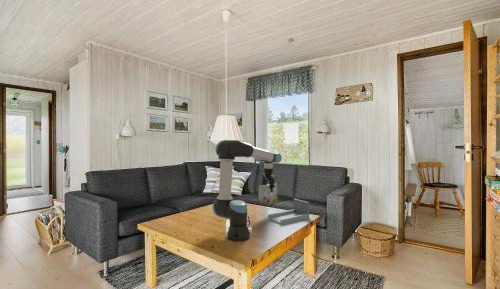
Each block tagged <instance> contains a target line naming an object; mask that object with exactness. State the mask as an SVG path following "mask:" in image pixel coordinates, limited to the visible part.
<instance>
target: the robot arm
mask: <svg viewBox="0 0 500 289" xmlns="http://www.w3.org/2000/svg"><path fill="white" fill-rule="evenodd" d="M215 153H216V155H217V157H218V161H219V162H220V164H219V165H220V166H219V183H218V184H219V185H218V196H217V197H216V199H215V200H214V202H213V203H212V212H213V214H214V215H215V216H217V217H219V218H223V219H226V220H229V227H228V230H227V233H226V236H227V237H226V238H227V239H228V240H229V241H234V242H243V241H246V240H249V239H250V237H251V233H250V230H249V226H248V204H247V203H246V202H245V201H243V200H238V199H236V200H234V198H233V196H232V183H233V182H232V181H233V180H232V179H233V162H234V161H235V160H236V158H247V159H249V158H253V159H254V160H255V162H257V163H261V162H262V163H263V167H264V168H263V174H262V182H261V185H266V184H270V188H269V196H272V192H273V188H274V187H275V184H276V183H275V175H273V173H274V163H276V164H277V163H278V164H280V163H281V162H282V159H283V158H282V154H281V153H280V152H274V151H273V150H272V149H262V148H258V147H255V146H253V145H252V144H251V143H247V142H245V141H241V140H235V139H232V140H231V139H223V140H220V141H219V142H218V143H216V146H215ZM274 183H275V184H274Z"/></svg>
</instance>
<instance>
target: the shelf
mask: <svg viewBox="0 0 500 289" xmlns="http://www.w3.org/2000/svg"><path fill="white" fill-rule="evenodd" d="M292 204H293V209H290V210H289V209H288V210H284V211H280V212H279V211H278V212H275V213H271V214H270V213H269V214H267V220H269V221H272V222H274V223H276V224H279V225H281V226H283V225H287V224H291V223H295V222H299V221H300V222H301V221H303V220H307V219H310V202H309V201H305V200H301V199H298V198H293V203H292Z"/></svg>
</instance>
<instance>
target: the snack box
mask: <svg viewBox="0 0 500 289" xmlns="http://www.w3.org/2000/svg"><path fill="white" fill-rule="evenodd" d="M274 184H275V187H274V188H273V192H272V196H269V188H270V184H269V183H267V184H266V185H262V184H261V185H258V204H259V205H263V206H264V205H265V204H270V203H273V202H277V201H278V183H275V182H274Z"/></svg>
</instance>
